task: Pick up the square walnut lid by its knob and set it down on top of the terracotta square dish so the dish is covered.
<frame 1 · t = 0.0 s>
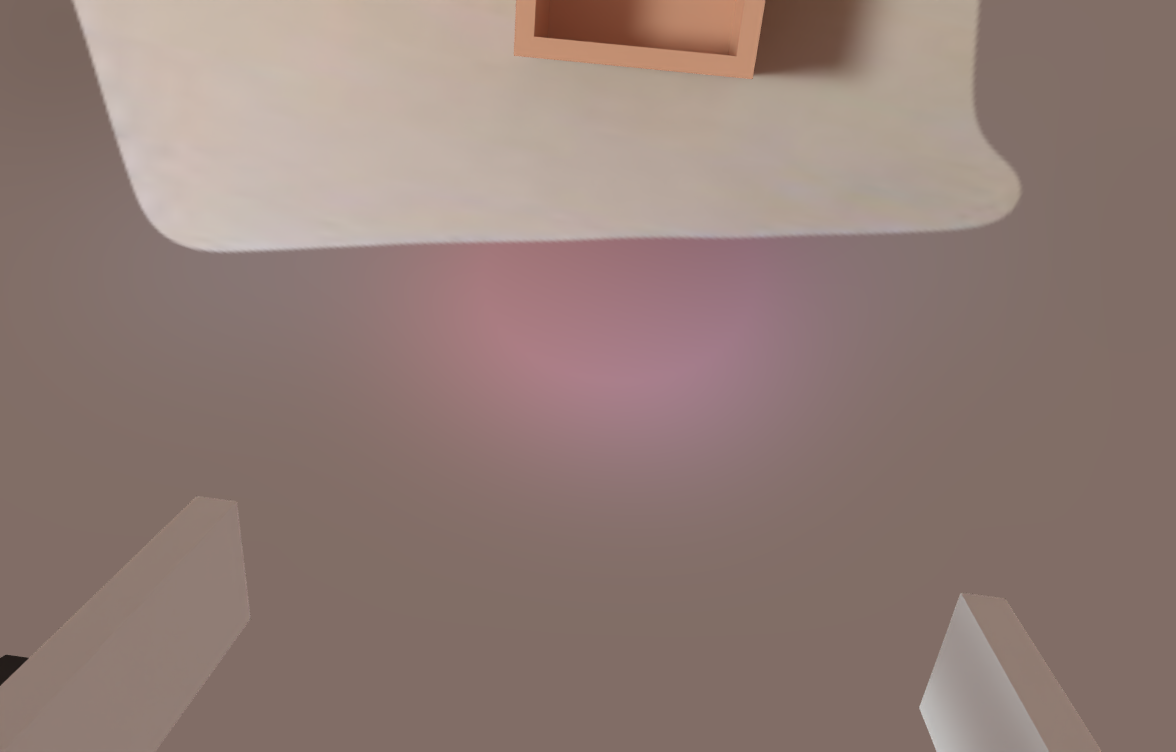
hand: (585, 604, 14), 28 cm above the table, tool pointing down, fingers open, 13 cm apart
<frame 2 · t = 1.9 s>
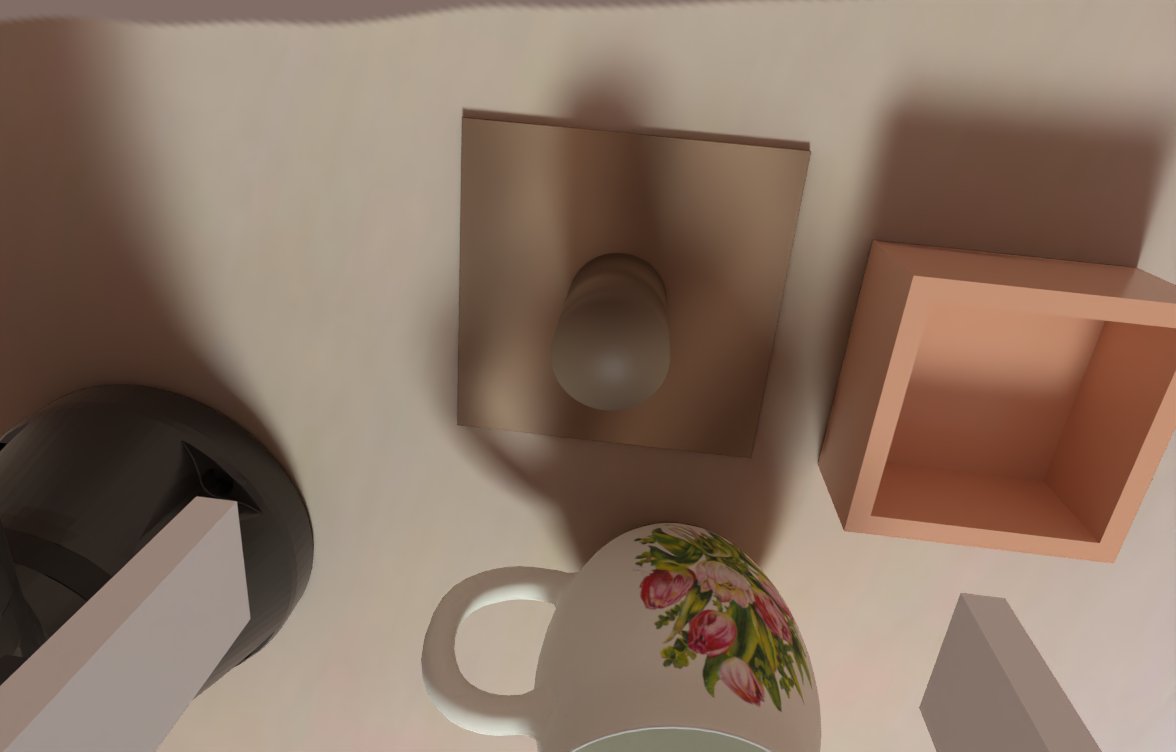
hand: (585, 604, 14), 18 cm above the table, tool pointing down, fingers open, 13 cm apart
pitcher: (650, 571, 36), on the table
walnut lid: (618, 295, 31), on the table
terracotta dish: (966, 373, 31), on the table
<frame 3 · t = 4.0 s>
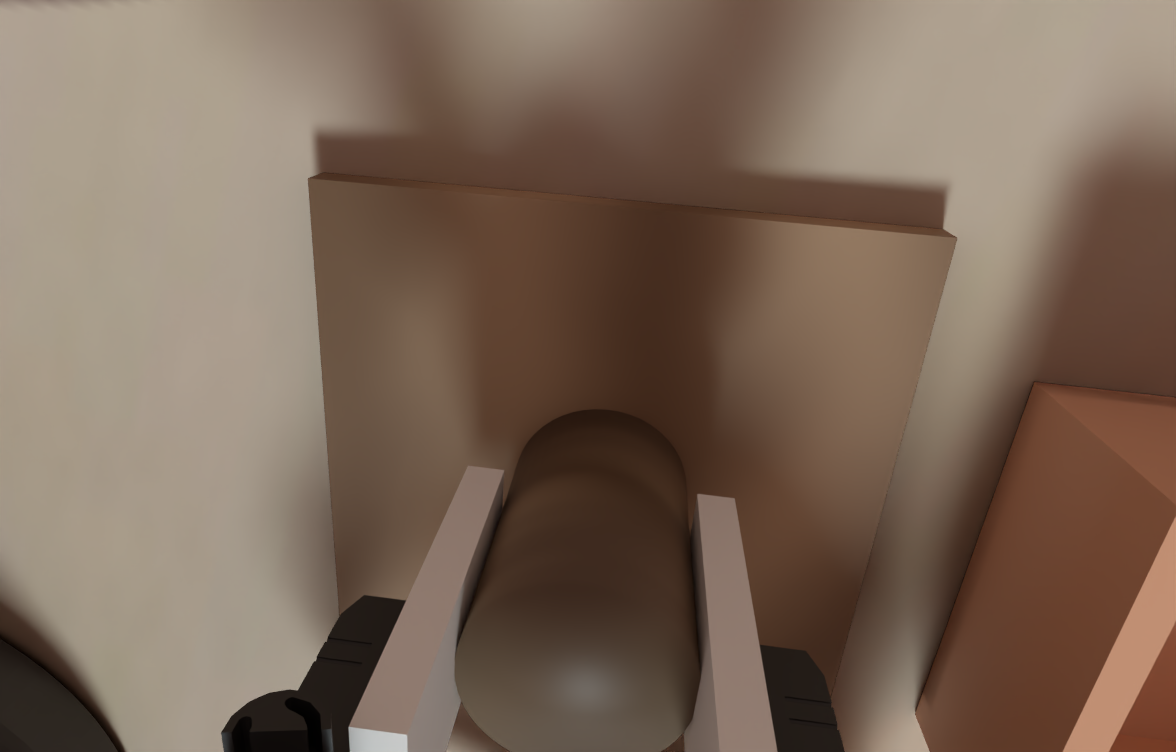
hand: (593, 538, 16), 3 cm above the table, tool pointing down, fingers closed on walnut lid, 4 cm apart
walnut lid: (602, 468, 18), on the table, touching gripper
terracotta dish: (1175, 590, 18), on the table
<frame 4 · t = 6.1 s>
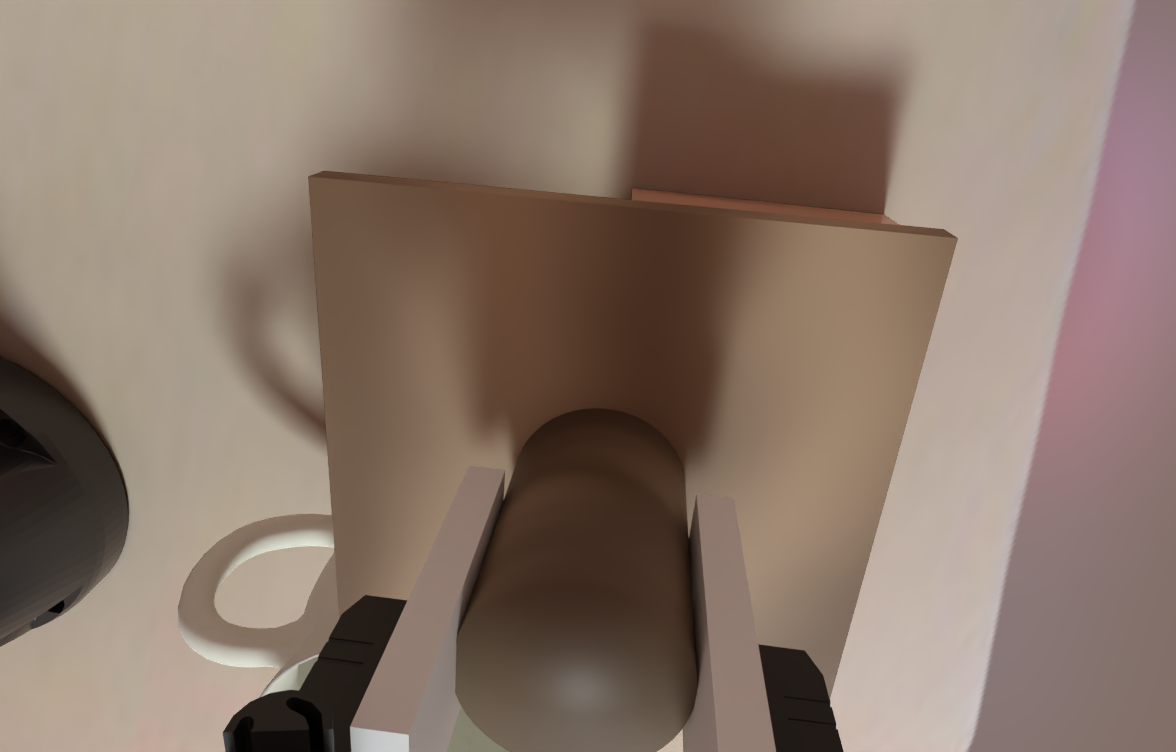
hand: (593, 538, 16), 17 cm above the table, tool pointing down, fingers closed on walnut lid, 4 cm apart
pitcher: (460, 523, 37), on the table
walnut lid: (601, 468, 18), point 15 cm above the table, touching gripper
terracotta dish: (736, 320, 32), on the table
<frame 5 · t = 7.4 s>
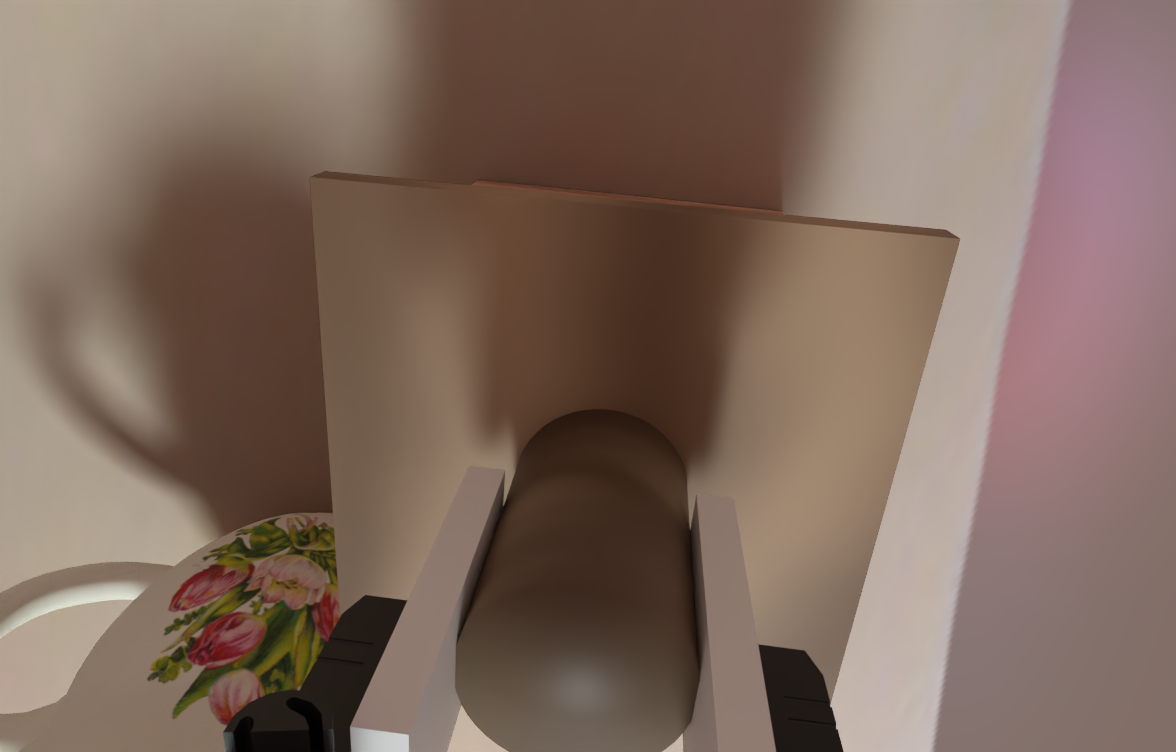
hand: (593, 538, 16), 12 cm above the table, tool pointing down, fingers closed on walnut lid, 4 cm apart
pitcher: (316, 568, 32), on the table
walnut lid: (603, 468, 18), point 9 cm above the table, touching gripper
terracotta dish: (613, 337, 27), on the table
when the fingers open (9 cm above the table, at t = 8.1 s): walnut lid drops 1 cm, resting on terracotta dish.
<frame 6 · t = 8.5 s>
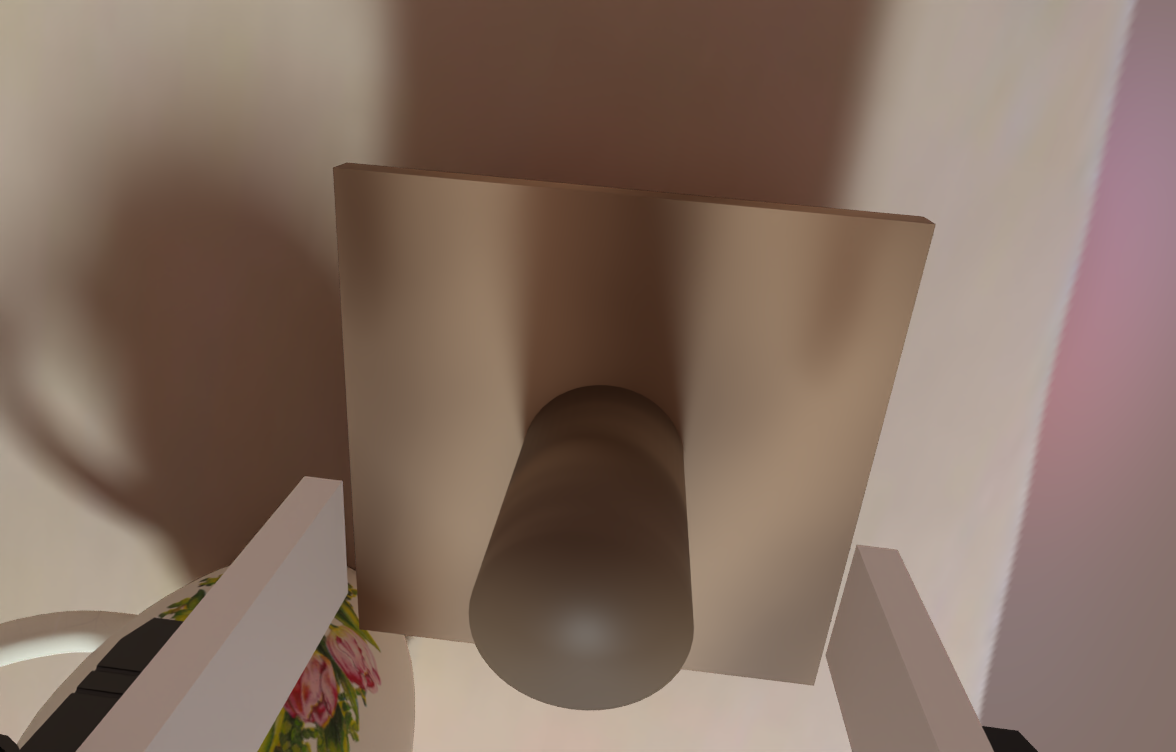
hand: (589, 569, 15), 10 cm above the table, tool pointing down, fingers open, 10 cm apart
pitcher: (293, 612, 30), on the table
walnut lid: (604, 442, 20), point 5 cm above the table, touching terracotta dish
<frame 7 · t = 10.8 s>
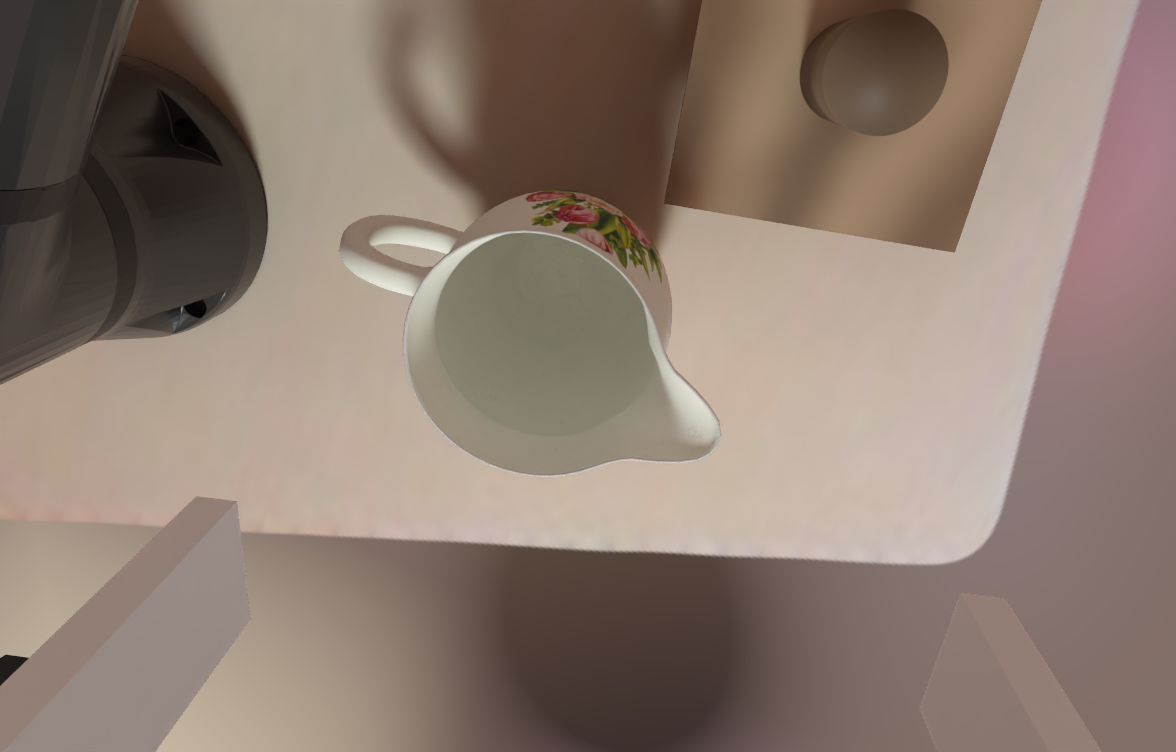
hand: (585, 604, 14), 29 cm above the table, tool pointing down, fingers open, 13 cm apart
pitcher: (557, 266, 42), on the table
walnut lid: (845, 72, 32), point 5 cm above the table, touching terracotta dish
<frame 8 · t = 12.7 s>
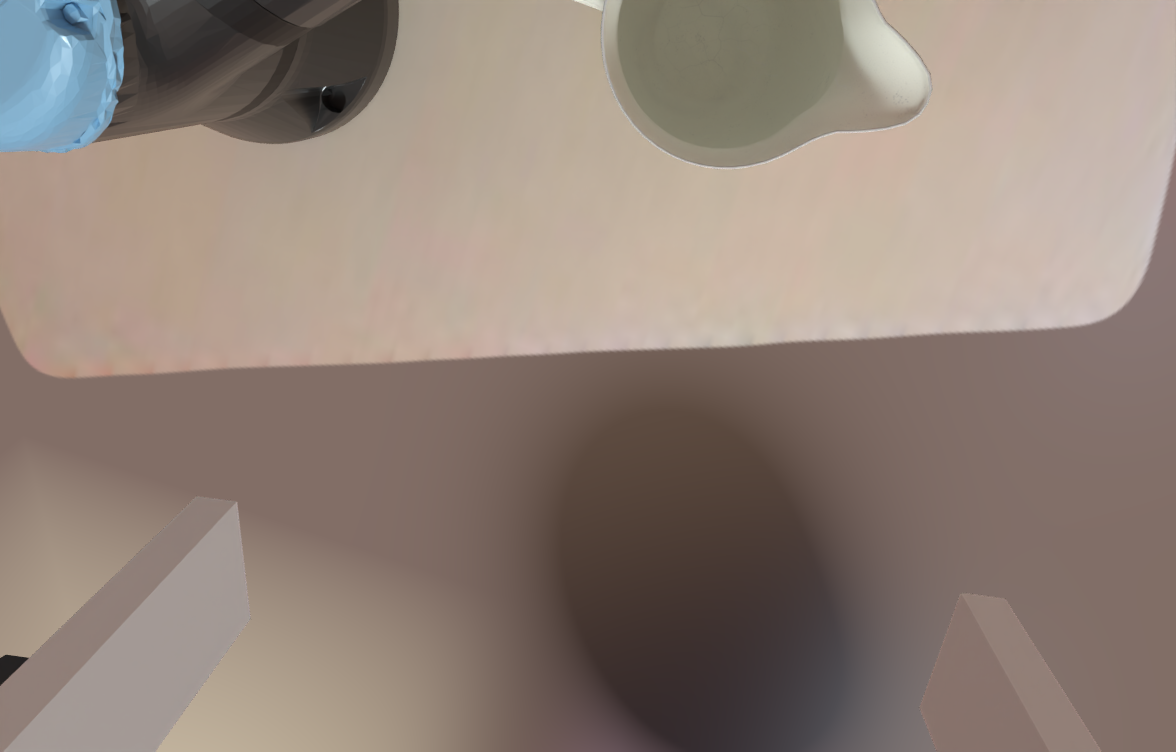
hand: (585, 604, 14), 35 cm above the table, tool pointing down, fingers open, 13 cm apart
pitcher: (694, 32, 42), on the table
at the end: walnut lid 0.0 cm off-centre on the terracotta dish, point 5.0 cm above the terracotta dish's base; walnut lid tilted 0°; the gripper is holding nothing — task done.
